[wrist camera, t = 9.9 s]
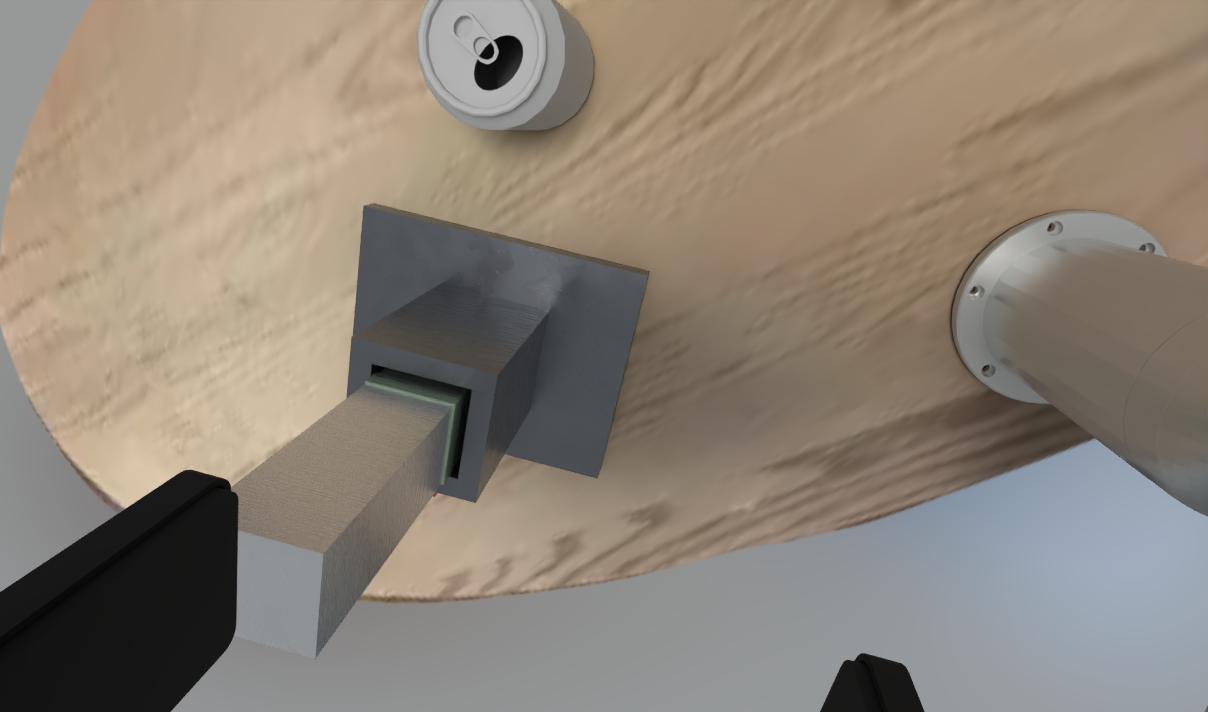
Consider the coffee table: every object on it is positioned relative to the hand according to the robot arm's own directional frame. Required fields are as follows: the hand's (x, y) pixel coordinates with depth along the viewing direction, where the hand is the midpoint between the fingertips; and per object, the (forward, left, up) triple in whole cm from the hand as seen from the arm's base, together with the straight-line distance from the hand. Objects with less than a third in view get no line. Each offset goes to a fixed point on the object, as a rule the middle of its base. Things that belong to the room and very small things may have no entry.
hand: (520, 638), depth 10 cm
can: (+10, -9, -36) cm, 39 cm away
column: (+10, +10, -28) cm, 32 cm away
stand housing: (+10, +10, -36) cm, 39 cm away
